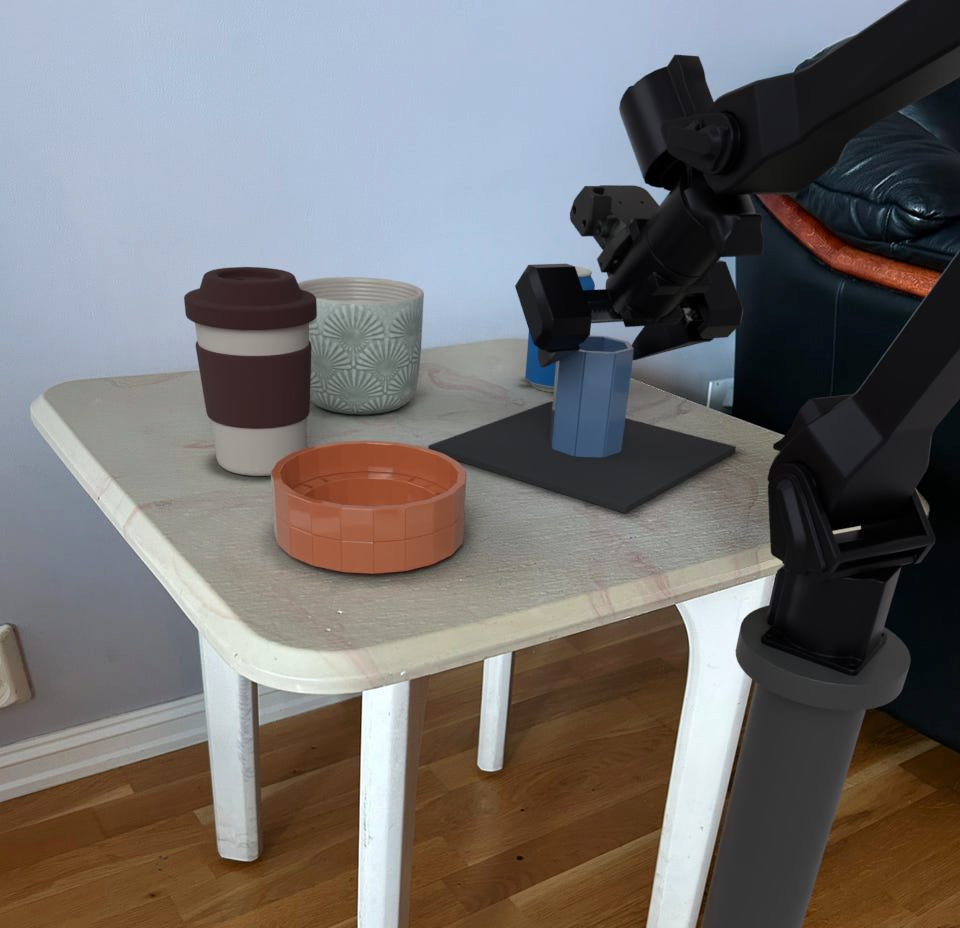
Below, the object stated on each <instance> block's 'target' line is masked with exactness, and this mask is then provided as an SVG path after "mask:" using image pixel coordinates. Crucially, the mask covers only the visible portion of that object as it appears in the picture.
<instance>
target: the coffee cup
mask: <svg viewBox="0 0 960 928" xmlns="http://www.w3.org/2000/svg"><path fill="white" fill-rule="evenodd" d="M298 283H299V282H298V280H297V278H296V276H295V275H294V274H293V273H292V272H290V271H287V270H284V269H278V268H270V267H263V266H262V267H260V266H258V267H257V266H235V267H234V266H232V267H231V266H230V267H222V268H216V269H211V270H208V271H207V272H205V273H204V274H203V275H202V279H201V282H200V285H199V288H196V289H193V290H190V291H188V292H187V293H185V294H184V295H183V296H184V297H183V301H184V312H185V316H186V318H187V319H188V320H189V321H191V322H193V323H194V327H195V332H196V339H197V340H196V342H195V352H196V358H197V364H198V369H199V375H200V382H201V387H202V394H203V400H204V407H205V412H206V415H207V418H209V420H210V426H211V432H212V439H213V444H214V451H215V457H216V460H217V464H219V466H220V467H221V468H223V469H224V470H226V471H228V472H230V473H233V474H236V475H241V476H251V477H252V476H253V477H269V476H270V477H271V471H272V470H273V468H274V466H275V465H276V463H277V462H278V461H279V460H281V459H283V458H284V457H286V456H288V455H289V454H291V453H293V452H296V451H299V450H302V449H306V448H307V432H308V431H307V430H308V429H307V427H308V417H309V415H310V410H311V401H310V384H311V350H312V346H311V342H310V341H309V322H312V321H313V320H314V319H316V317H317V303H316V297H315V296H314V295H313V294H312V293H310V292H308V291H305V290H302V289H300V287H299V285H298Z"/></svg>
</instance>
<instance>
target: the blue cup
mask: <svg viewBox="0 0 960 928" xmlns="http://www.w3.org/2000/svg"><path fill="white" fill-rule="evenodd" d="M579 346H580V350H579V351H577V352H575V353H573V354H571V355H569V356H567V357H565V358H563V359H561V360H559V361H557V362H556V371H555V383H554V392H553V397H552V401H553V406H552V418H551V429H550V443H551V447H552V449H553V450H556V451H559V452H562V453H565V454H568V455H571V456H576V457H593V458H603V457H604V458H605V457H608V456H610V455H613V454H616V453H619V452H621V449H622V441H623V433H624V425H625V418H626V416H627V409H628V401H629V391H630V385H631V376H632V368H633V361H634V360H633V353H634V348H633V347H632V343H631V342H630V341H628V340H624V339H618V338H615V337H611V336H607V335H591V334H590V335H589V336H588V338H587V339H586V340H585V341H584V342H583V343H581V344H579Z"/></svg>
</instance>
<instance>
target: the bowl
mask: <svg viewBox="0 0 960 928" xmlns="http://www.w3.org/2000/svg"><path fill="white" fill-rule="evenodd" d="M428 448H429V447H424V446H421V445H417V444H416V445H415V444H409V443H403V442H397V441H384V440H383V441H382V440H365V439H364V440H348V441H347V440H346V441H336V442H330V443H323V444H318V445H311V446H309V447H306V449H302V450H299V451H296V452H293V453H291V454H289V455H288V456H286V457H284V458H283V459H281V460H279V461H278V462H277V463H276V465H275V466H274V468H273V470H272V471H271V475H270V481H271V484H270V485H271V497H272V513H273V531H274V536H275V540H276V543H277V545H278V547H279V548H281V549H282V550H283V551H284V552H286V554H288V555H289V557H292V558H294V559H296V560H298V561H301V562H303V563H306V564H308V565H311V566H313V567H317V568H321V569H326V570H331V571H336V572H340V573H341V572H342V573H354V574H371V575H374V574H376V575H377V574H385V573H386V574H387V573H388V574H389V573H398V572H407V571H411V570H415V569H419V568H424V567H428V566H431V565H434V564H436V563H438V562H441V561H442V560H445V559H446V558H449V557H450V556H452V555H453V554H454V553H455V552H456V551H457V550H458V549H459V548H460V547H461V546H462V545H463V543H464V535H465V520H466V519H465V518H466V497H467V496H466V495H467V494H466V493H467V471H466V470H465V468H464V467H463V466H462V465H461V463H460V461H457V460H454V459H452V458H450V457H449V456H447V455H445V454H443V453H440V452H437V451H434V450H431V449H428Z"/></svg>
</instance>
